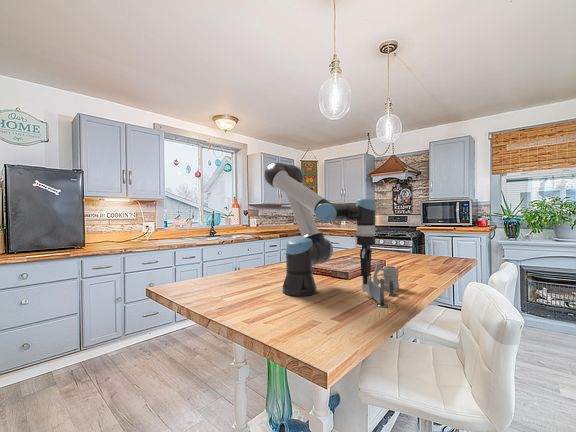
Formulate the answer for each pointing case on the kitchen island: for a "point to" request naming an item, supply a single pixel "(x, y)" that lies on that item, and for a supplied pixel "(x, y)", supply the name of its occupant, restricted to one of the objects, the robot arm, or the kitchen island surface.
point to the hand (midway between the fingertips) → (365, 291)
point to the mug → (387, 276)
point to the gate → (375, 291)
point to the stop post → (392, 289)
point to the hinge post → (382, 295)
